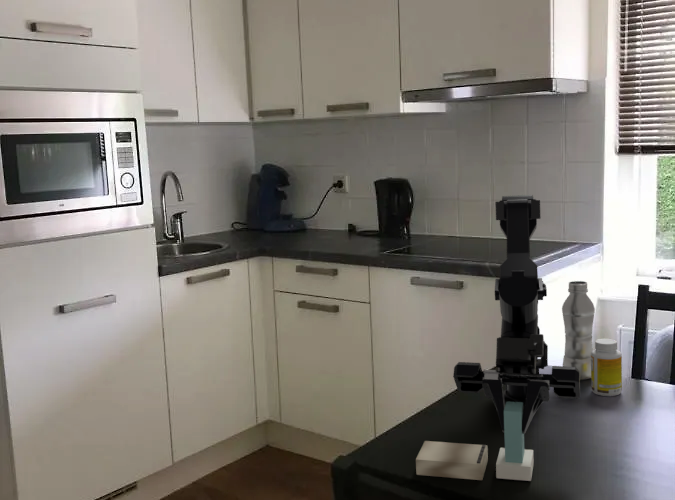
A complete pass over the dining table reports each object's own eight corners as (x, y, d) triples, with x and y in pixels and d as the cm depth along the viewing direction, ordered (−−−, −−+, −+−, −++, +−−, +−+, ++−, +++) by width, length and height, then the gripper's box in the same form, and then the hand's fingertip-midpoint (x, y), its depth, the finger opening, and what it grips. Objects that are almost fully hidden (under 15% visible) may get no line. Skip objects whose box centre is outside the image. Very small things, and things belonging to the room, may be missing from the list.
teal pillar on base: (496, 478, 111) (494, 412, 110) (500, 460, 117) (498, 398, 115) (530, 481, 110) (529, 415, 108) (533, 463, 115) (532, 400, 114)
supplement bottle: (628, 394, 142) (628, 342, 141) (604, 399, 141) (604, 346, 139) (608, 385, 148) (608, 335, 146) (585, 390, 146) (584, 339, 144)
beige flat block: (416, 474, 115) (415, 458, 114) (425, 455, 121) (424, 439, 121) (482, 480, 111) (481, 463, 111) (487, 460, 118) (487, 444, 118)
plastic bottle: (595, 373, 155) (594, 279, 152) (595, 384, 149) (594, 286, 146) (563, 372, 157) (561, 279, 154) (562, 382, 151) (560, 286, 148)
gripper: (453, 312, 116) (442, 405, 108) (578, 315, 110) (578, 413, 102) (463, 346, 125) (454, 435, 116) (580, 351, 119) (579, 444, 110)
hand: (513, 431), depth 111 cm, fingers closed on teal pillar on base, 2 cm apart
